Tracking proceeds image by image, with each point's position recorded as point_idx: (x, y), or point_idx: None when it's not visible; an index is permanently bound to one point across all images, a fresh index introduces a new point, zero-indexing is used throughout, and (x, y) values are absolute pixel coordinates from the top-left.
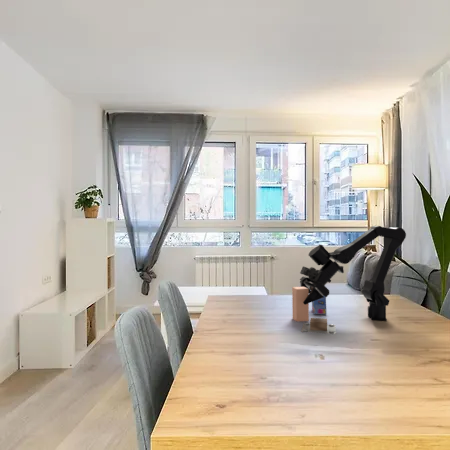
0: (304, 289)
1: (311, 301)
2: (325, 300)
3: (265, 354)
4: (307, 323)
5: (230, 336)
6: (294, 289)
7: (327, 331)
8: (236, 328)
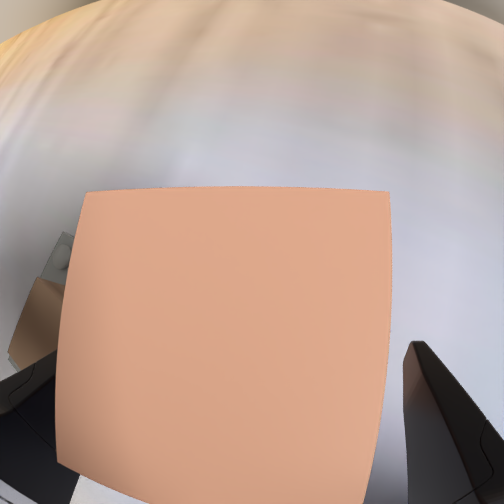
0: (66, 379)
1: None
2: None
3: (26, 104)
4: None
5: (176, 22)
6: (212, 199)
7: None
8: (262, 29)
